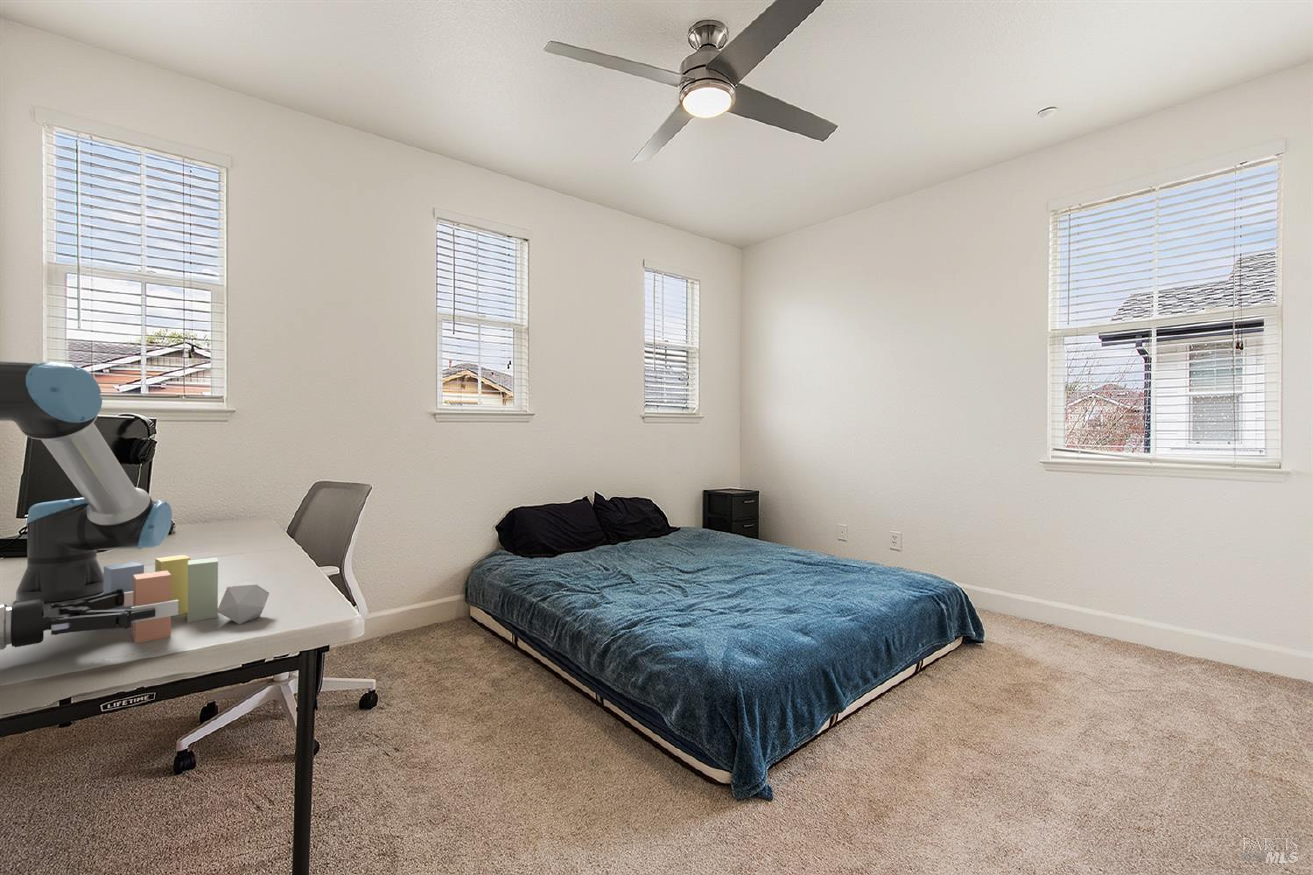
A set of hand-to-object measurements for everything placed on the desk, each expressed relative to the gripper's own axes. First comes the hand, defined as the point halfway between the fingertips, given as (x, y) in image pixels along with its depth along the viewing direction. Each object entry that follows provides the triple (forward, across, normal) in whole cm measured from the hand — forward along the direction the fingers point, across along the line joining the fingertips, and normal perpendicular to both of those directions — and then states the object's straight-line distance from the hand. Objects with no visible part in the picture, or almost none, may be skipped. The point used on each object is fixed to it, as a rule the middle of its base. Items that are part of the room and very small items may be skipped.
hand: (172, 599), depth 112 cm
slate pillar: (-6, -14, -6) cm, 17 cm away
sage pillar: (+6, -8, -6) cm, 12 cm away
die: (+12, +1, -7) cm, 13 cm away
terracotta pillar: (-3, 0, -6) cm, 7 cm away
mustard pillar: (+2, -16, -6) cm, 17 cm away
